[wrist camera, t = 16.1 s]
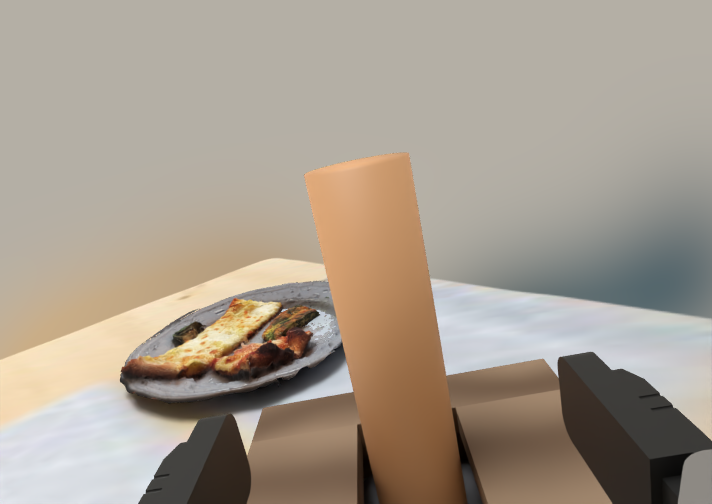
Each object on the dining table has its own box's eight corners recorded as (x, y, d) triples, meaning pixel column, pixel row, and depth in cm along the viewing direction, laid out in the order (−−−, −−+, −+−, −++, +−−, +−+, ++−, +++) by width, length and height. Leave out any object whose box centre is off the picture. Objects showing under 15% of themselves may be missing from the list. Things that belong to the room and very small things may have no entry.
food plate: (280, 436, 32) (268, 390, 32) (72, 408, 43) (59, 373, 42) (403, 297, 54) (397, 268, 53) (243, 301, 65) (237, 277, 64)
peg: (408, 459, 28) (346, 155, 23) (545, 512, 23) (501, 132, 18) (314, 566, 22) (207, 195, 18) (467, 670, 17) (374, 179, 12)
